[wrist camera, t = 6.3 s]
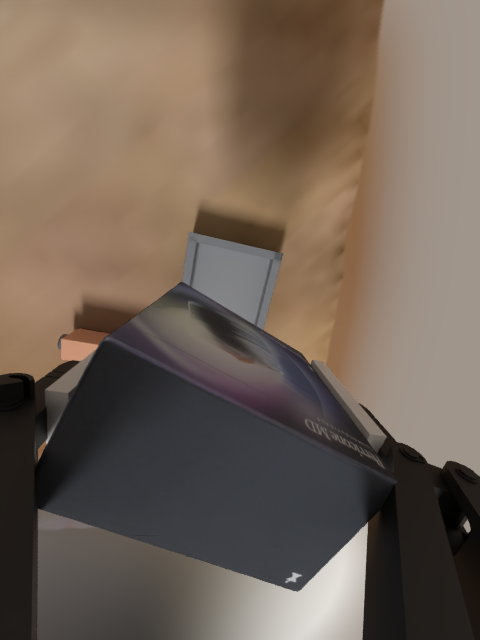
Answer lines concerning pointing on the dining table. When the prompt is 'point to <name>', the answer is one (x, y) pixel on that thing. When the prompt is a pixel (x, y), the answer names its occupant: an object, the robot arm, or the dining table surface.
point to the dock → (232, 275)
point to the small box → (212, 446)
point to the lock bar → (79, 344)
